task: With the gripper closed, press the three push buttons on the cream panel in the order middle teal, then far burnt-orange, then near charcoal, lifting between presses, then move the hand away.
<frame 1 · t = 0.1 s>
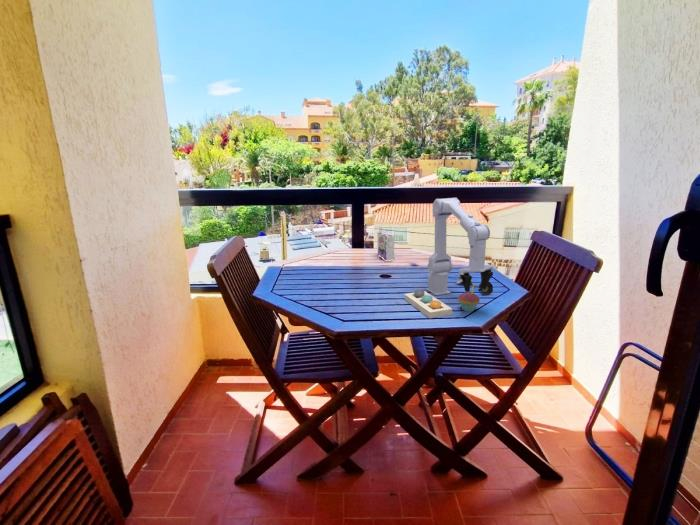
hand: (475, 289, 154), 10 cm above the table, tool pointing down, fingers open, 7 cm apart
grey button: (419, 294, 171), point 3 cm above the table, slide at 0.0 cm
cupcake: (468, 310, 161), on the table
button panel: (426, 306, 166), on the table
candy box: (385, 259, 244), on the table
teal button: (427, 300, 165), point 3 cm above the table, slide at 0.0 cm
orange button: (435, 305, 159), point 3 cm above the table, slide at 0.0 cm
artificial flower: (471, 288, 187), on the table
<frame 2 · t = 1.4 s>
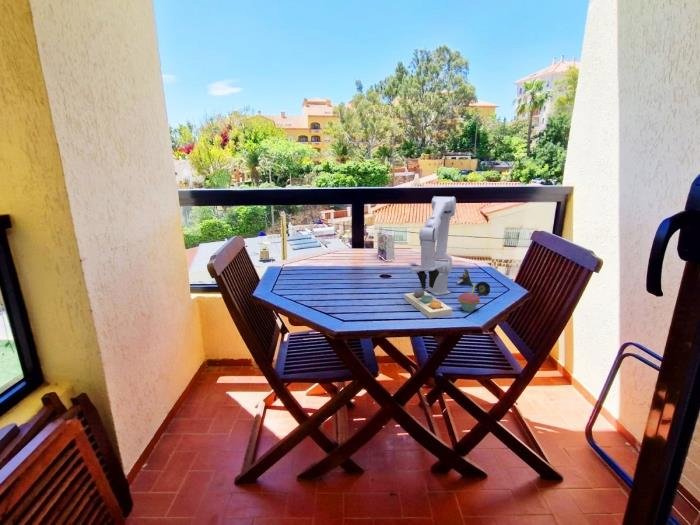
hand: (427, 287, 164), 8 cm above the table, tool pointing down, fingers open, 3 cm apart
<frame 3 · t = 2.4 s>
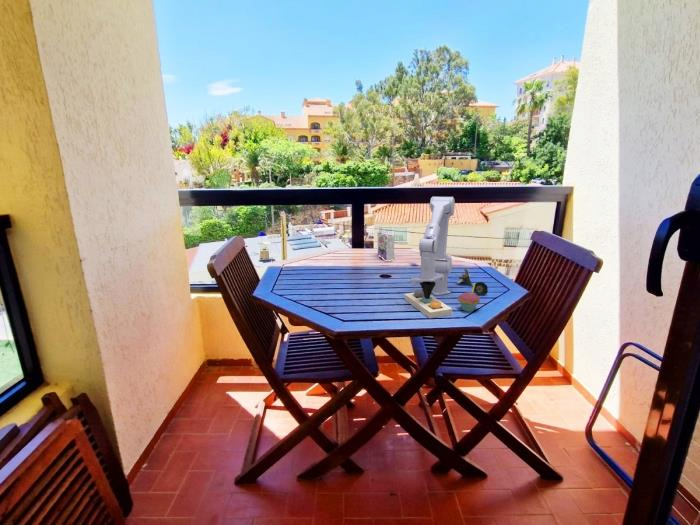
hand: (427, 298, 165), 4 cm above the table, tool pointing down, fingers closed, pressing on teal button
teal button: (427, 300, 165), point 3 cm above the table, slide at -0.4 cm, touching gripper
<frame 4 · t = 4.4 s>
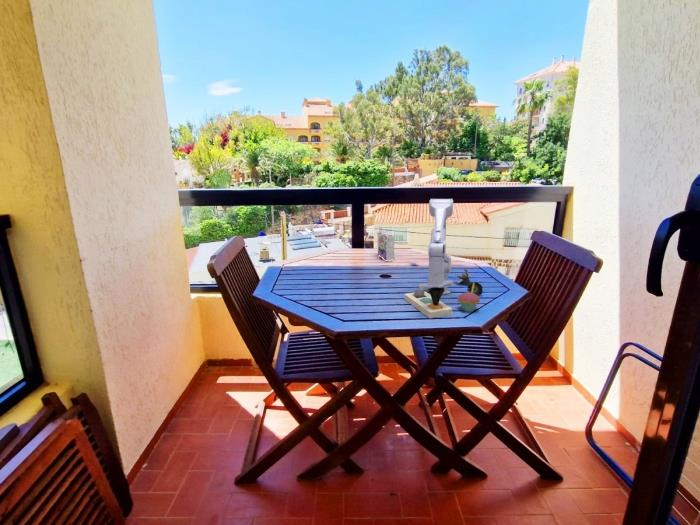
hand: (435, 304, 158), 3 cm above the table, tool pointing down, fingers closed, pressing on orange button
teal button: (426, 302, 165), point 2 cm above the table, slide at -1.2 cm
orange button: (435, 307, 159), point 2 cm above the table, slide at -0.8 cm, touching gripper
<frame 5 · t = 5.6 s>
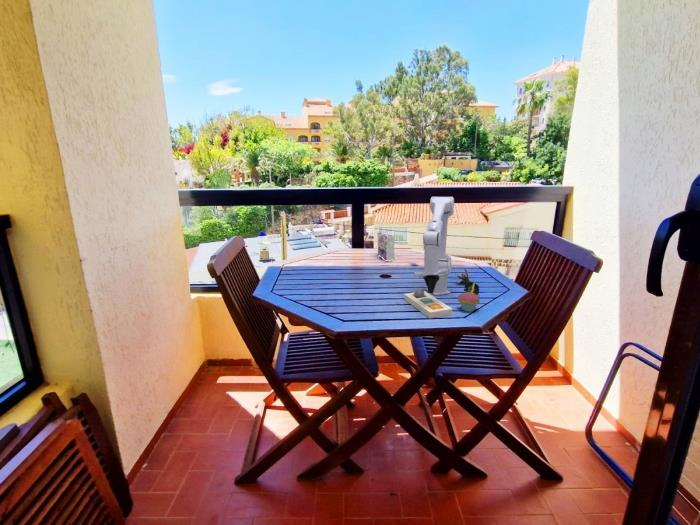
hand: (430, 292, 161), 7 cm above the table, tool pointing down, fingers closed
orange button: (435, 308, 159), point 2 cm above the table, slide at -1.2 cm
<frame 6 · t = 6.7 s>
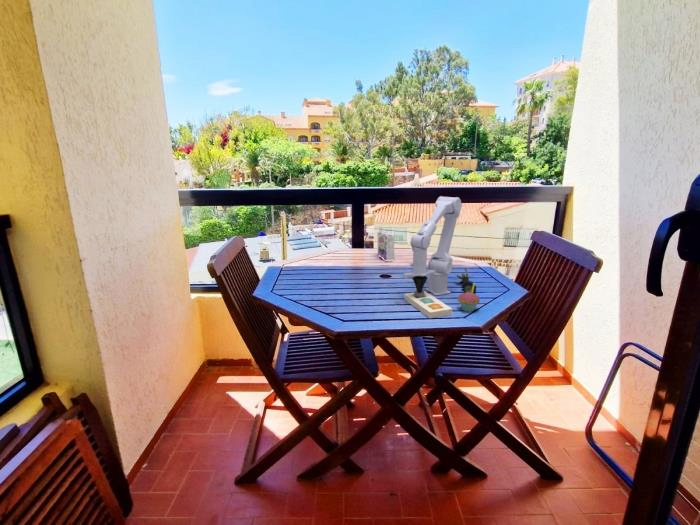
hand: (419, 292, 171), 4 cm above the table, tool pointing down, fingers closed, pressing on grey button
grey button: (419, 294, 171), point 3 cm above the table, slide at -0.1 cm, touching gripper
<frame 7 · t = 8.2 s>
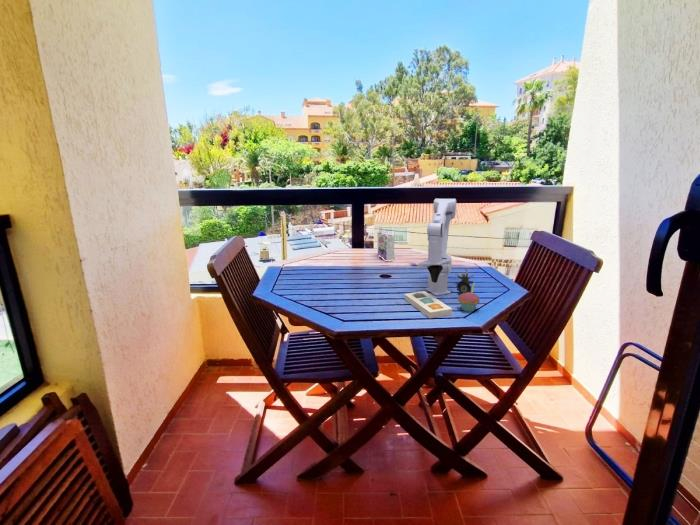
hand: (434, 281, 167), 9 cm above the table, tool pointing down, fingers closed
grey button: (419, 297, 172), point 2 cm above the table, slide at -1.2 cm
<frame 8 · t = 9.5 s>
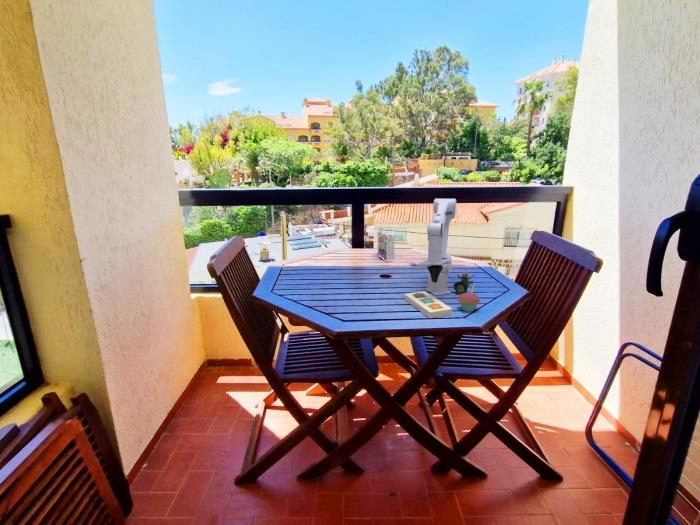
hand: (434, 281, 167), 9 cm above the table, tool pointing down, fingers closed
at the end: teal button slide at -1.2 cm; orange button slide at -1.2 cm; grey button slide at -1.2 cm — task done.
